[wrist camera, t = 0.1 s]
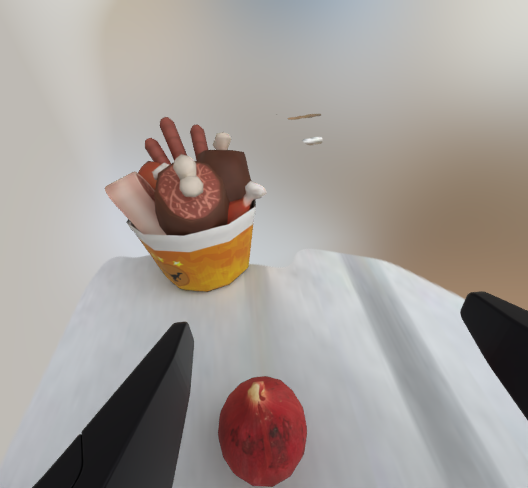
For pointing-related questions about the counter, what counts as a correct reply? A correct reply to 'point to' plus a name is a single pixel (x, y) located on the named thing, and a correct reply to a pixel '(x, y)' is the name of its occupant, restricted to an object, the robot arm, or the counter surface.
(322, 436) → the counter surface
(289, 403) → the onion
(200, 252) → the bucket of meat
